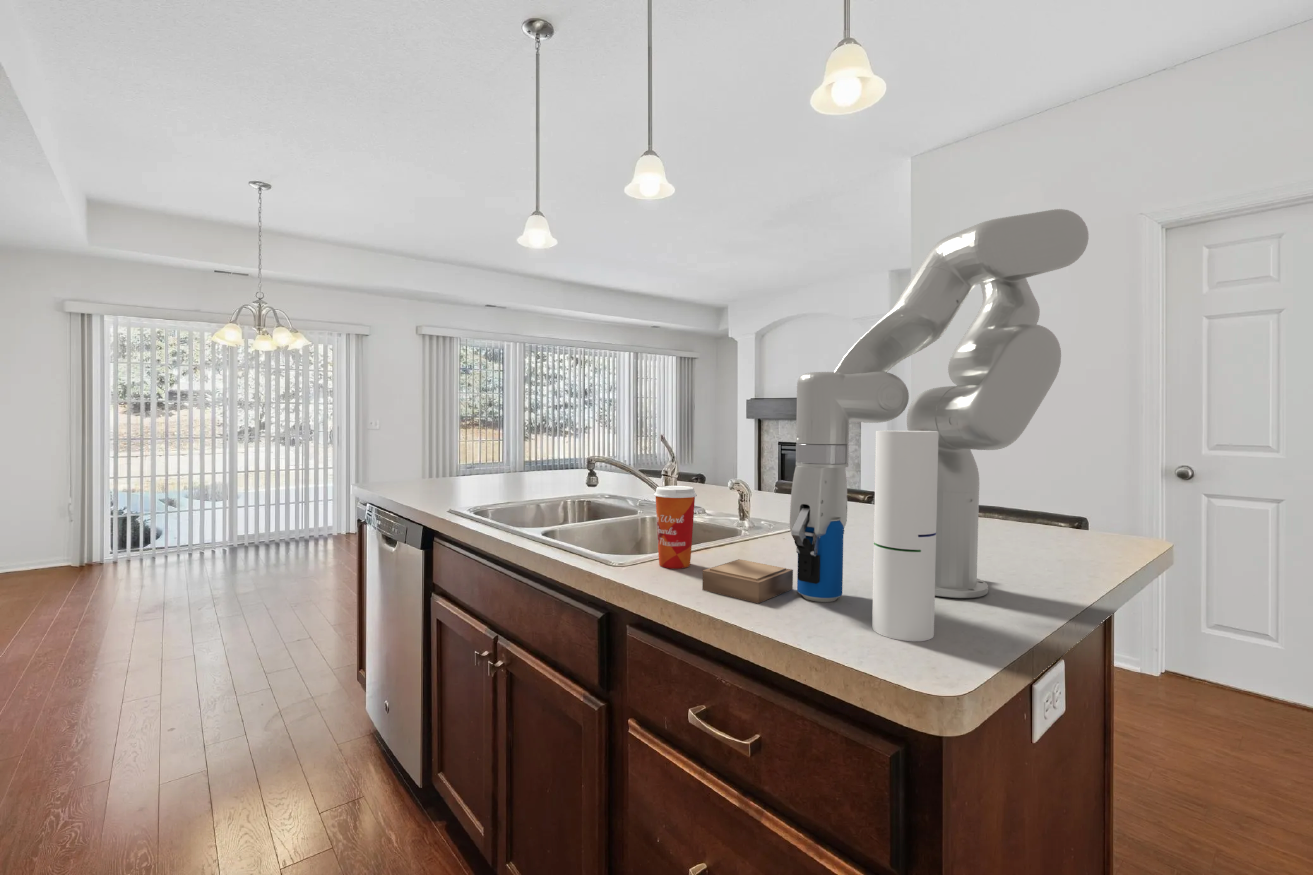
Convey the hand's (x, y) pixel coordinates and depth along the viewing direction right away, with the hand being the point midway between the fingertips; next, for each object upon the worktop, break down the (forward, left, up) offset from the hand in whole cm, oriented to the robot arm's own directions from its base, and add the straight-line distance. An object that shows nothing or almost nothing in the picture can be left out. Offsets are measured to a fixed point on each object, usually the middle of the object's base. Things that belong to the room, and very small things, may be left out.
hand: (819, 575), depth 88 cm
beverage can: (0, 0, -3) cm, 3 cm away
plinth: (+4, -10, -3) cm, 11 cm away
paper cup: (0, -28, -3) cm, 28 cm away
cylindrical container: (+6, +14, -3) cm, 16 cm away
